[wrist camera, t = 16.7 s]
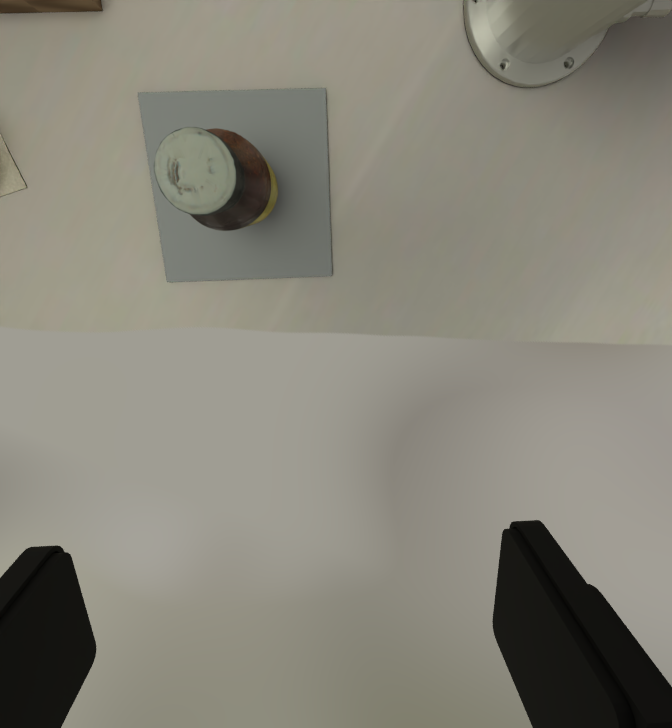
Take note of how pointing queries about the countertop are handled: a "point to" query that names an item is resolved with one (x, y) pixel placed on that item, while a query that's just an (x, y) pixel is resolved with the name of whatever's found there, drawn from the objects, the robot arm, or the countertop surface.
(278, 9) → the countertop surface
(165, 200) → the rubber mat
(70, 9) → the socket block
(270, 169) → the sauce bottle
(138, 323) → the countertop surface
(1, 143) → the condiment
